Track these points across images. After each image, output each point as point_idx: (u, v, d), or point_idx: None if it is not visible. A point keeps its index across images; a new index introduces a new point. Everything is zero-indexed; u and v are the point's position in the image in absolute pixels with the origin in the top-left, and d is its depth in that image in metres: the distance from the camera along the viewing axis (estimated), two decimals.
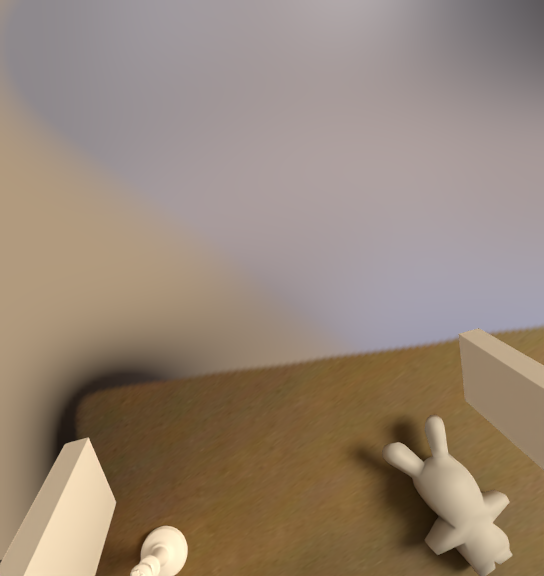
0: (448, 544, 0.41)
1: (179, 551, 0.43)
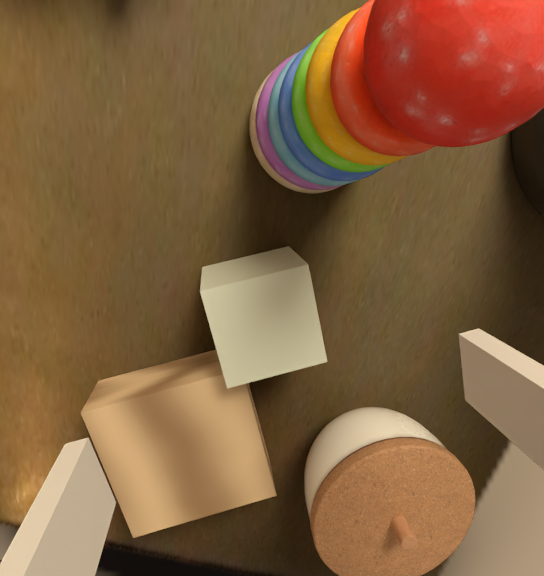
0: None
1: None
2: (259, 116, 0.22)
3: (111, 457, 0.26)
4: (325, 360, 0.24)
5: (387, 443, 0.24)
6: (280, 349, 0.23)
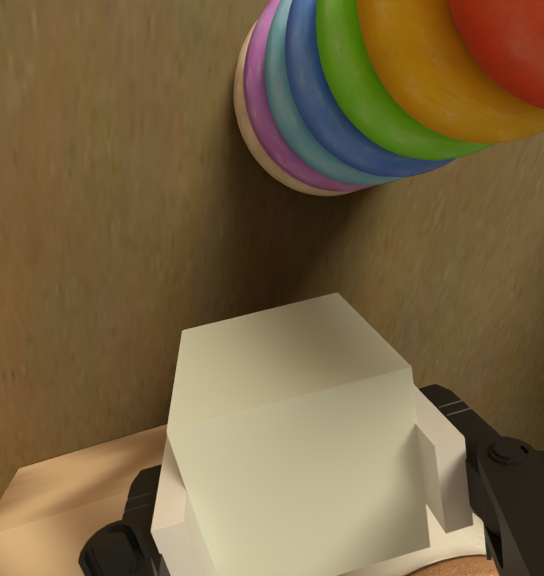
0: None
1: None
2: (249, 73, 0.14)
3: None
4: (427, 545, 0.12)
5: (446, 570, 0.16)
6: (339, 532, 0.11)
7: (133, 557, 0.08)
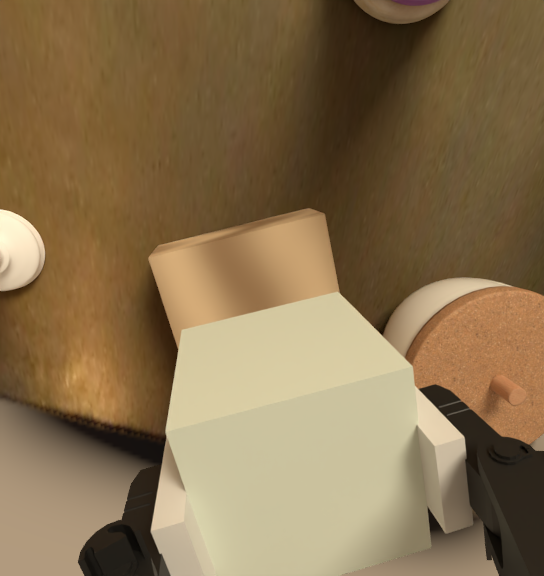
0: None
1: (0, 224, 0.23)
2: None
3: (179, 314, 0.23)
4: (428, 546, 0.12)
5: (490, 290, 0.22)
6: (340, 533, 0.11)
7: (133, 557, 0.08)
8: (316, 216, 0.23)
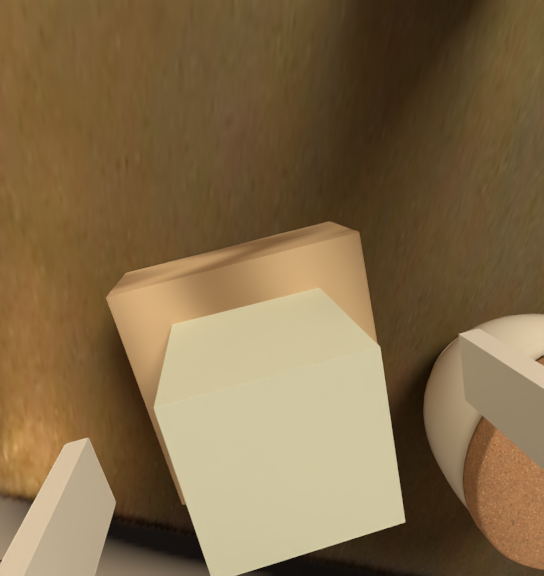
0: None
1: None
2: None
3: (153, 374, 0.16)
4: (402, 520, 0.12)
5: None
6: (318, 507, 0.12)
7: None
8: (347, 235, 0.16)
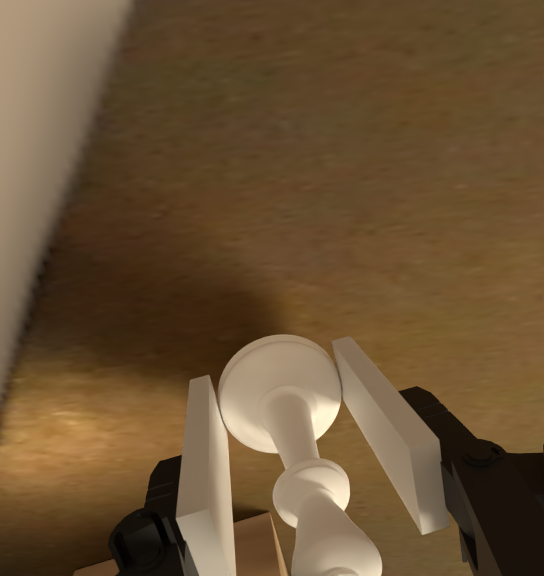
0: None
1: (325, 417, 0.16)
2: None
3: None
4: None
5: None
6: None
7: (160, 543, 0.09)
8: None
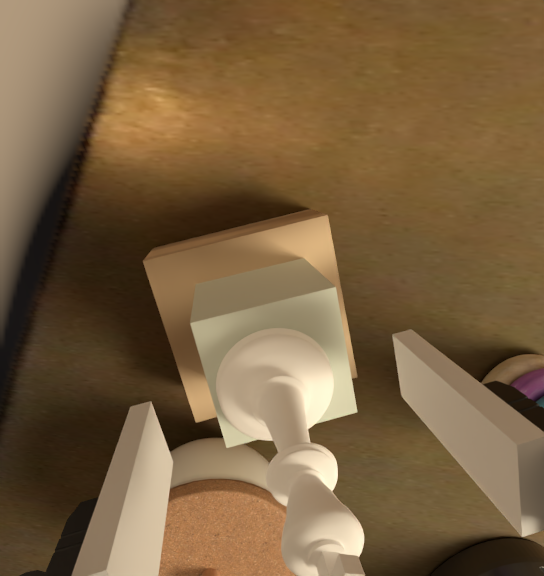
0: None
1: (318, 406, 0.17)
2: None
3: (266, 243, 0.22)
4: (228, 445, 0.18)
5: None
6: None
7: None
8: (355, 370, 0.25)
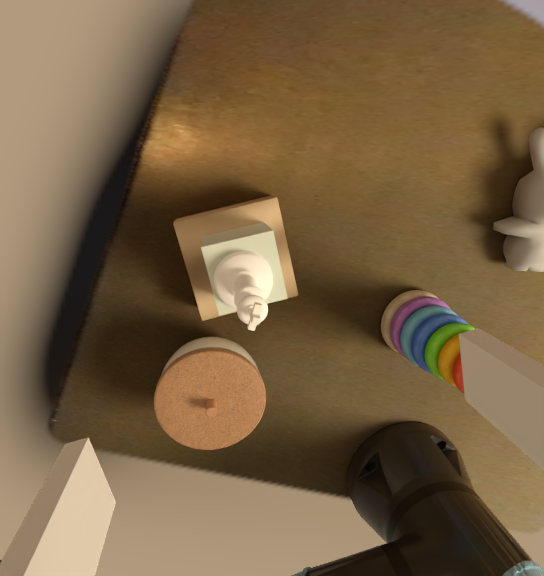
0: (519, 231, 0.44)
1: (264, 290, 0.33)
2: (429, 299, 0.44)
3: (242, 213, 0.38)
4: (220, 314, 0.34)
5: (264, 388, 0.40)
6: None
7: None
8: (297, 291, 0.41)
